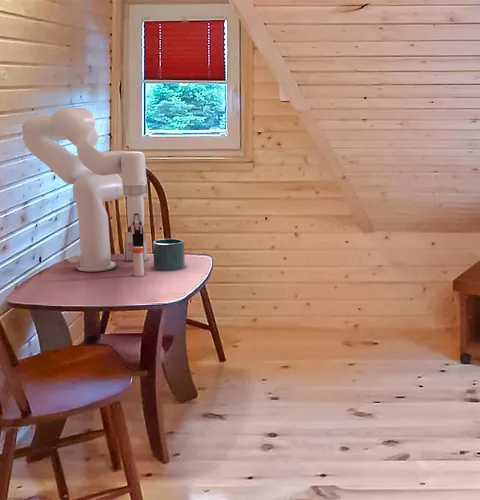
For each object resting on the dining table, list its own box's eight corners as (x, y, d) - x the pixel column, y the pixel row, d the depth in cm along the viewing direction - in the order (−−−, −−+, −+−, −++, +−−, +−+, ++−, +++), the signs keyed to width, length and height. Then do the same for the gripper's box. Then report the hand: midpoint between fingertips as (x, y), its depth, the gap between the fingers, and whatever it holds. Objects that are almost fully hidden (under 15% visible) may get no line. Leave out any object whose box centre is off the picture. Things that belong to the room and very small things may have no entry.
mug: (185, 269, 257) (184, 243, 255) (154, 271, 255) (153, 244, 253) (183, 261, 270) (182, 236, 268) (153, 262, 268) (152, 237, 266)
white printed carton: (128, 258, 274) (126, 231, 272) (147, 259, 274) (145, 231, 272) (125, 261, 270) (123, 233, 268) (144, 261, 270) (143, 233, 268)
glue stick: (133, 276, 248) (132, 249, 246) (133, 274, 251) (132, 247, 249) (144, 275, 248) (143, 248, 247) (144, 273, 252) (143, 246, 250)
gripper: (123, 188, 251) (126, 239, 255) (122, 194, 235) (125, 249, 238) (146, 187, 253) (150, 238, 257) (147, 193, 237) (150, 247, 240)
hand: (138, 243), depth 247 cm, fingers open, 9 cm apart
